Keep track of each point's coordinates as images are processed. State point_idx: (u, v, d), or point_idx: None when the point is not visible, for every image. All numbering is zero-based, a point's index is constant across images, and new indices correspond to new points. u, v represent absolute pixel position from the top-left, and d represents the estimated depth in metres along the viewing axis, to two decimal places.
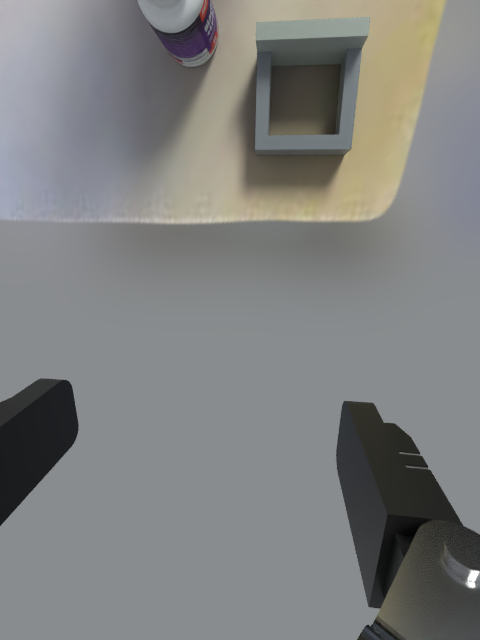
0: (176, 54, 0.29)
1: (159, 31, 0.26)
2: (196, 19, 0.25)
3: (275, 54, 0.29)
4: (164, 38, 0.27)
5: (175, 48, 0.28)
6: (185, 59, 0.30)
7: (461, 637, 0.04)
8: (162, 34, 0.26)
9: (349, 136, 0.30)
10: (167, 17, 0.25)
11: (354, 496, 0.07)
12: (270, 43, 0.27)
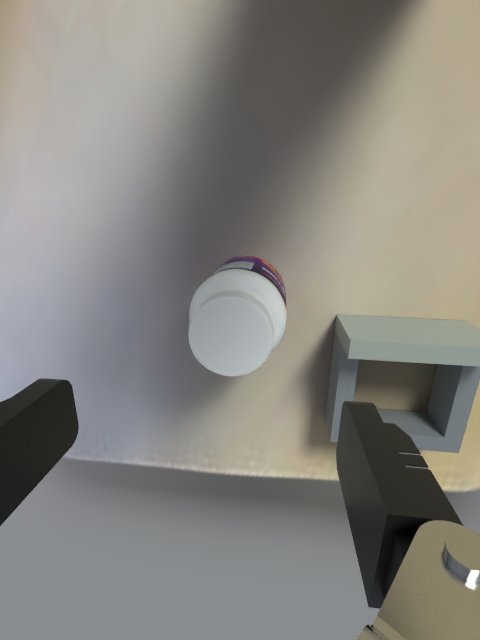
0: None
1: None
2: None
3: None
4: None
5: None
6: None
7: (461, 637, 0.04)
8: None
9: (458, 440, 0.23)
10: None
11: (354, 496, 0.07)
12: None
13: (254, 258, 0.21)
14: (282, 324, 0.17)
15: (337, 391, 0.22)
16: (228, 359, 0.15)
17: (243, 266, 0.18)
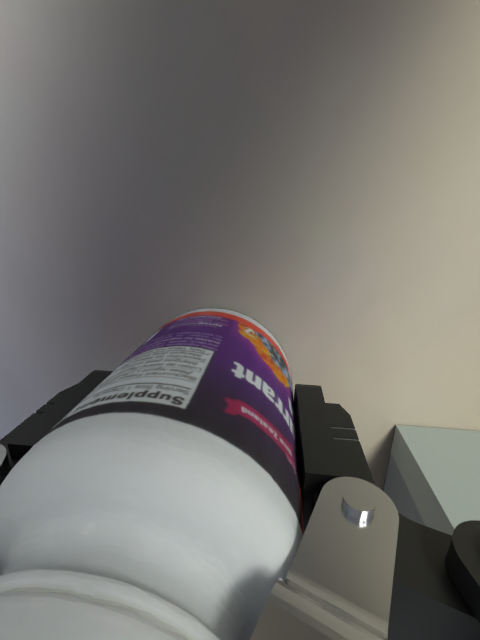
0: None
1: None
2: None
3: None
4: None
5: None
6: None
7: (355, 569, 0.04)
8: None
9: None
10: None
11: None
12: None
13: (222, 323, 0.09)
14: None
15: None
16: None
17: (169, 385, 0.06)
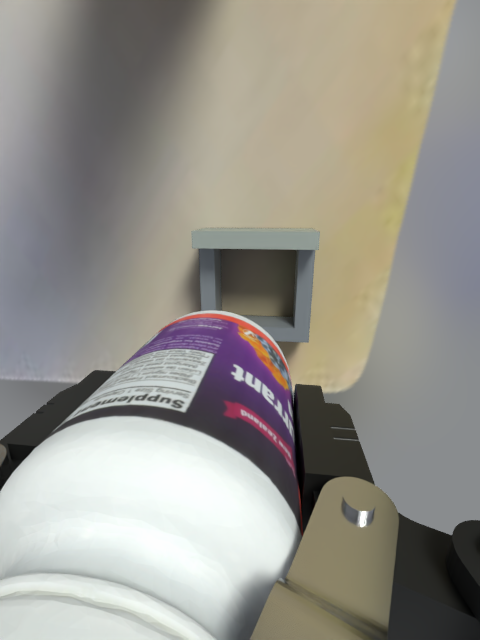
0: None
1: None
2: None
3: None
4: None
5: None
6: None
7: (355, 569, 0.04)
8: None
9: (306, 330, 0.26)
10: None
11: None
12: None
13: (222, 326, 0.09)
14: None
15: (201, 289, 0.26)
16: None
17: (169, 389, 0.06)
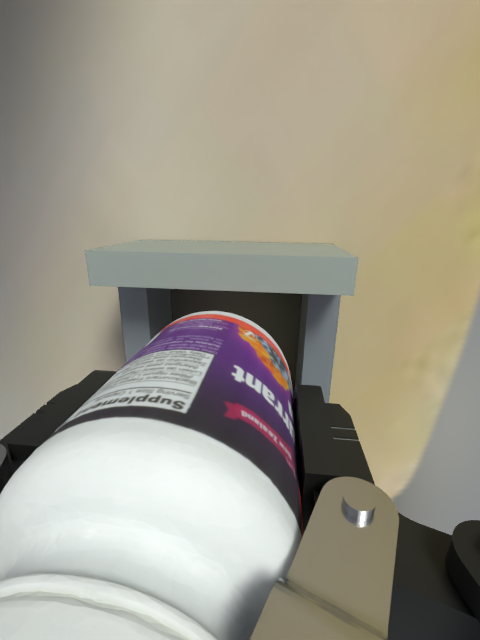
0: None
1: None
2: None
3: None
4: None
5: None
6: None
7: (355, 569, 0.04)
8: None
9: None
10: None
11: None
12: None
13: (222, 326, 0.09)
14: None
15: (126, 353, 0.14)
16: None
17: (170, 389, 0.06)
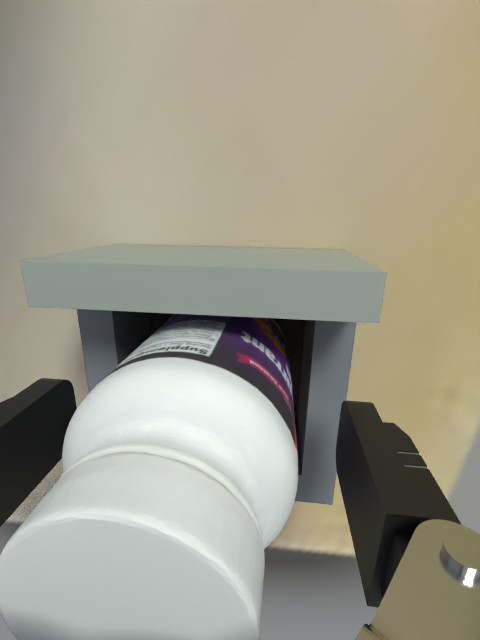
0: None
1: None
2: None
3: None
4: None
5: None
6: None
7: (459, 637, 0.04)
8: None
9: (327, 481, 0.12)
10: None
11: (353, 495, 0.07)
12: None
13: None
14: (287, 500, 0.07)
15: (90, 385, 0.11)
16: None
17: (195, 343, 0.08)
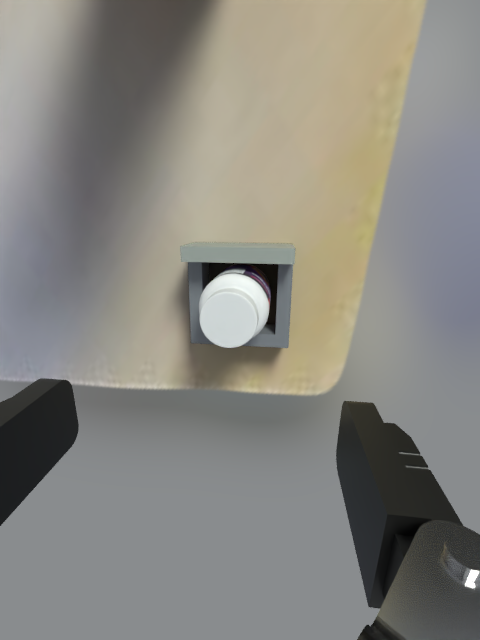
0: None
1: None
2: None
3: None
4: None
5: None
6: None
7: (461, 638, 0.04)
8: None
9: (285, 337, 0.29)
10: None
11: (354, 496, 0.07)
12: None
13: (246, 265, 0.28)
14: (265, 312, 0.24)
15: (190, 298, 0.29)
16: (227, 335, 0.22)
17: (237, 271, 0.25)
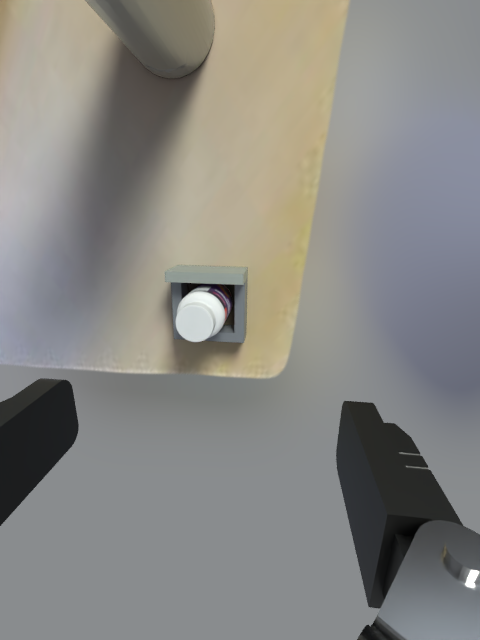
0: None
1: None
2: None
3: None
4: None
5: None
6: None
7: (461, 637, 0.04)
8: None
9: (241, 334, 0.40)
10: None
11: (354, 496, 0.07)
12: None
13: None
14: (221, 317, 0.35)
15: (172, 306, 0.40)
16: (194, 333, 0.33)
17: (203, 289, 0.36)
